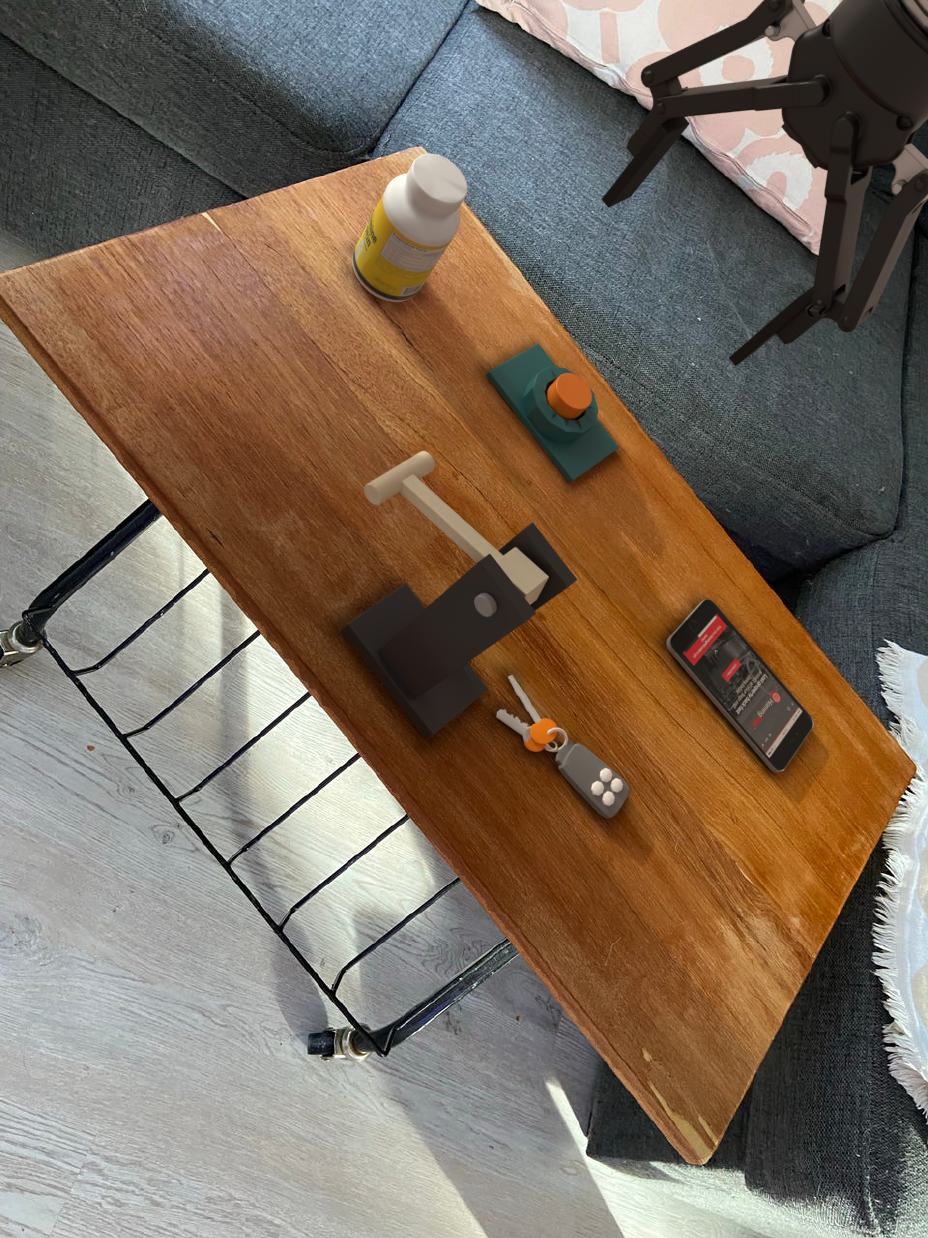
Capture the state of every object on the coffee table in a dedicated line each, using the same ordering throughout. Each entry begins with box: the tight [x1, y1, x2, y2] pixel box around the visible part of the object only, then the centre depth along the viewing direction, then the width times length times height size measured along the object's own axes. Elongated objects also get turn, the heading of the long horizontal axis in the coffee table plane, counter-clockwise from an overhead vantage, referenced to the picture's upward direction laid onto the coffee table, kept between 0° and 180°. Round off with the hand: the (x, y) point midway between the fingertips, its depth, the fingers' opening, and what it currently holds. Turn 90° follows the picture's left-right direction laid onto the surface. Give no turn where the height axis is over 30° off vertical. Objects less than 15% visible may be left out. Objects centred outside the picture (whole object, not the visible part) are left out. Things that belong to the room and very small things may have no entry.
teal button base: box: [485, 343, 620, 484], centre depth 86 cm, size 12×7×2 cm, turn 43°
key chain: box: [495, 674, 630, 820], centre depth 75 cm, size 13×4×2 cm, turn 53°
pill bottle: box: [351, 153, 468, 303], centre depth 80 cm, size 6×6×12 cm
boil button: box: [547, 373, 592, 419], centre depth 85 cm, size 4×4×2 cm
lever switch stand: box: [340, 522, 578, 741], centre depth 65 cm, size 10×6×18 cm, turn 43°
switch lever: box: [363, 450, 549, 605], centre depth 60 cm, size 12×5×2 cm, turn 43°
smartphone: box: [666, 598, 815, 774], centre depth 85 cm, size 7×1×15 cm
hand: (678, 276), depth 66 cm, fingers open, 13 cm apart
